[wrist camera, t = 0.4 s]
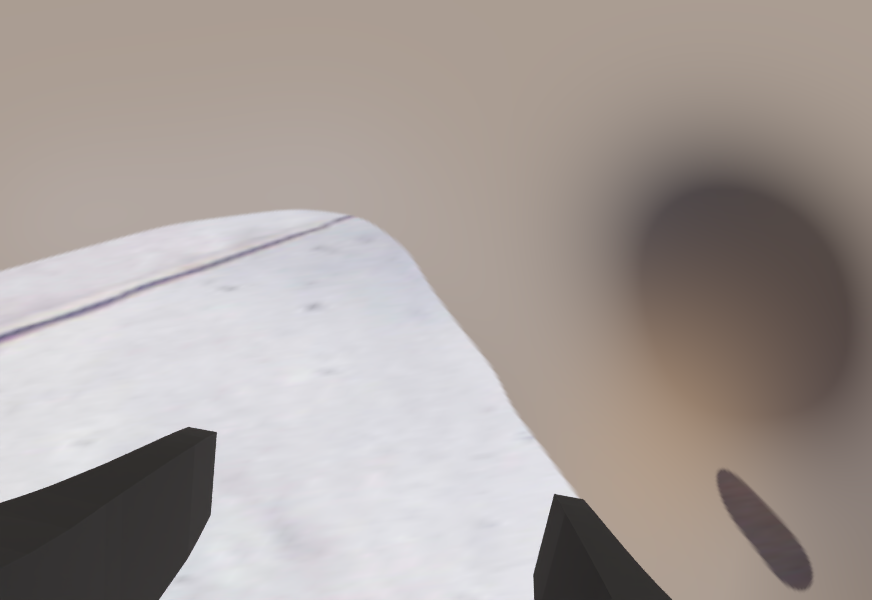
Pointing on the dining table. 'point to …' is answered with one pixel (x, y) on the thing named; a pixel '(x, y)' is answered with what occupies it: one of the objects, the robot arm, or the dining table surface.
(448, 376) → the dining table surface
